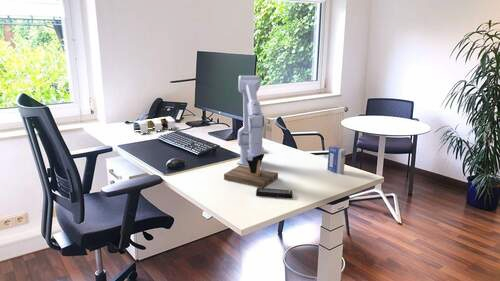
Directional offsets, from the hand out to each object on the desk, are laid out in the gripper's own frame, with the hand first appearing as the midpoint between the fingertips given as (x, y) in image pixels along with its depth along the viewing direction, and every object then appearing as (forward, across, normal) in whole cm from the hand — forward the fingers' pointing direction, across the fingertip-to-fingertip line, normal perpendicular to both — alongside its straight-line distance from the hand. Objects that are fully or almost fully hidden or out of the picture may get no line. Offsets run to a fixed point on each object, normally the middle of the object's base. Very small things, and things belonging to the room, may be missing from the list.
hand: (255, 171), depth 171 cm
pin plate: (+4, 0, -2) cm, 4 cm away
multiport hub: (+4, +13, +13) cm, 19 cm away
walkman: (+4, -25, +32) cm, 41 cm away
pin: (+3, 0, 0) cm, 3 cm away
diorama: (+4, -58, -93) cm, 109 cm away
